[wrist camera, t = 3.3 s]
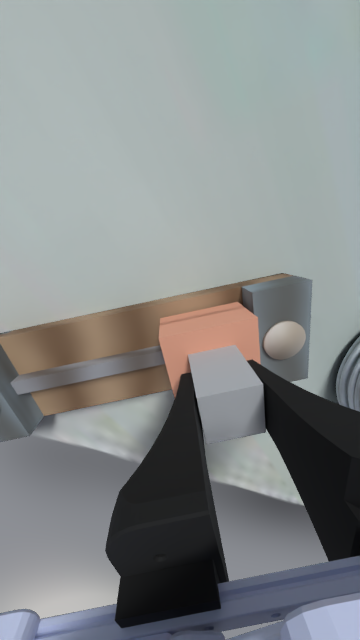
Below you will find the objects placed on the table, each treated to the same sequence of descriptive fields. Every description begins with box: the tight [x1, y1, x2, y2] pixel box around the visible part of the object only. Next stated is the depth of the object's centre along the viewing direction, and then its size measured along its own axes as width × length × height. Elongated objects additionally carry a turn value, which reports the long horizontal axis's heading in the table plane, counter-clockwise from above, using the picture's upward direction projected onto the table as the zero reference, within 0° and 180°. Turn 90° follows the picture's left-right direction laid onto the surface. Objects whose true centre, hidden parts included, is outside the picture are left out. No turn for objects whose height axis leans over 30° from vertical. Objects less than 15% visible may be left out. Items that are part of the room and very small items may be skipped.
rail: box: [0, 273, 312, 442], centre depth 16 cm, size 27×8×4 cm, turn 101°
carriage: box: [159, 302, 266, 444], centre depth 12 cm, size 6×6×7 cm
